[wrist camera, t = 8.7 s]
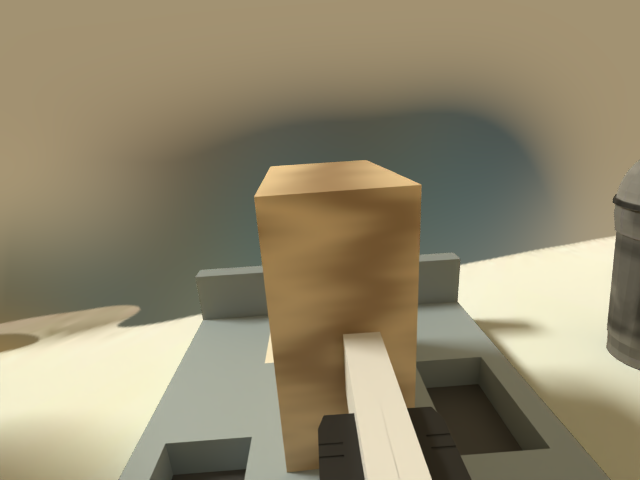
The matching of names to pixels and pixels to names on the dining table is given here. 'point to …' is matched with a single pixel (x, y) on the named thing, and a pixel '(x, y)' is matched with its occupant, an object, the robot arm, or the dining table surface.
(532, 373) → the dining table surface
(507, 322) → the dining table surface
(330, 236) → the oak block
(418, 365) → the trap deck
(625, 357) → the beverage cup
